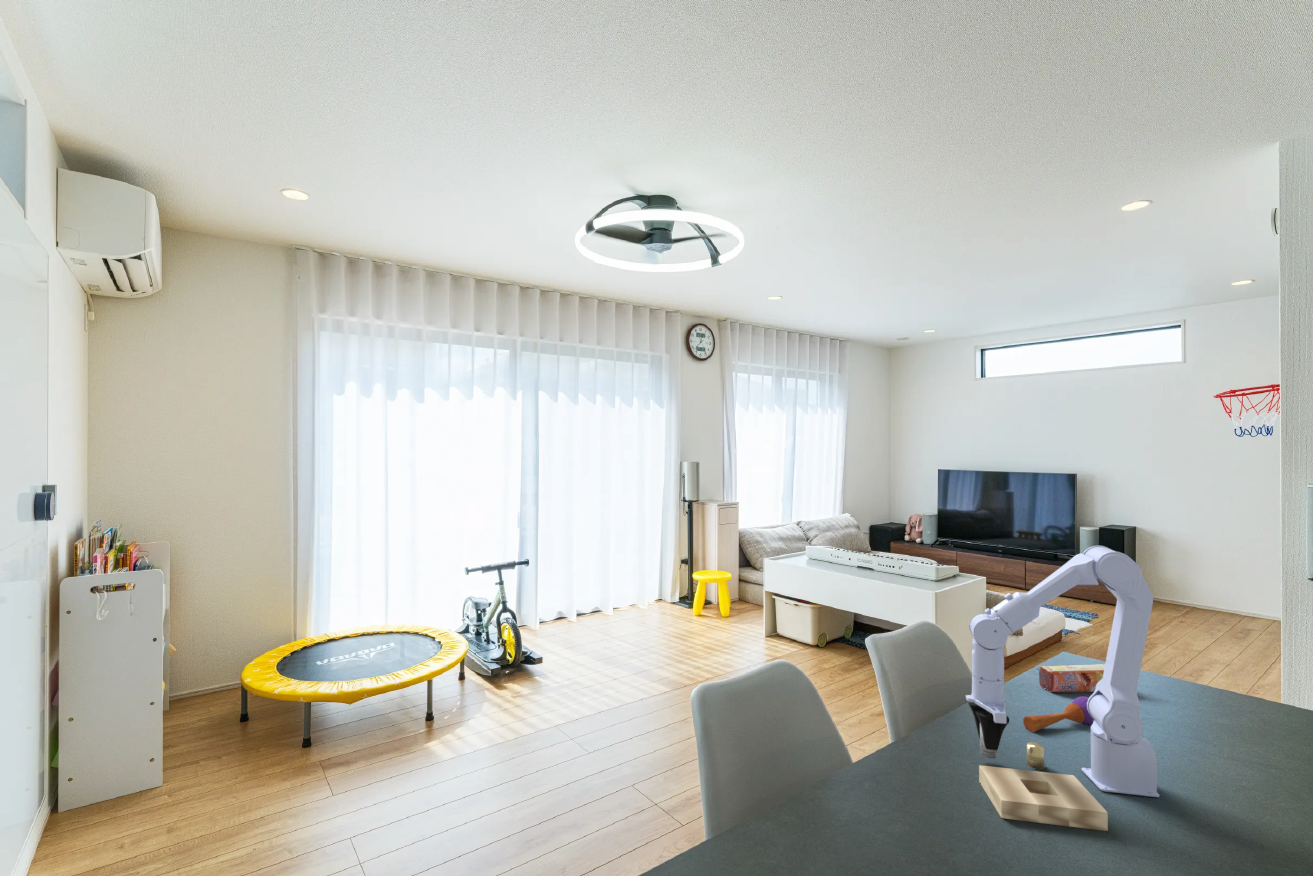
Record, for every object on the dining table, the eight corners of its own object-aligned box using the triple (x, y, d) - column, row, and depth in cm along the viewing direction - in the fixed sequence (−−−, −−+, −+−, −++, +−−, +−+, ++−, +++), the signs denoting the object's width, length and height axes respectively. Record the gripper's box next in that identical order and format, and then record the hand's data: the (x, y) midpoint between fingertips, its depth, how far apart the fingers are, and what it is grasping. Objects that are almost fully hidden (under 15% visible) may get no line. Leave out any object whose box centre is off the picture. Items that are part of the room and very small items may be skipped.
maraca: (1015, 707, 140) (1081, 692, 146) (1021, 735, 139) (1087, 718, 145) (1037, 713, 135) (1105, 697, 140) (1044, 742, 134) (1111, 724, 139)
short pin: (1040, 763, 122) (1040, 742, 123) (1047, 770, 120) (1047, 749, 120) (1024, 761, 123) (1024, 741, 123) (1030, 768, 120) (1030, 748, 120)
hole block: (1073, 791, 112) (1073, 775, 112) (1107, 831, 100) (1107, 812, 100) (979, 781, 115) (979, 765, 115) (1001, 818, 103) (1001, 800, 103)
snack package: (1053, 695, 158) (1052, 669, 158) (1036, 686, 165) (1036, 660, 165) (1132, 695, 159) (1131, 669, 159) (1112, 685, 166) (1112, 660, 166)
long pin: (994, 751, 123) (993, 716, 124) (999, 759, 120) (999, 723, 121) (978, 750, 124) (977, 715, 124) (982, 757, 121) (982, 721, 121)
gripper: (956, 662, 131) (956, 727, 130) (977, 687, 116) (978, 760, 116) (992, 665, 129) (992, 730, 129) (1018, 691, 115) (1018, 764, 114)
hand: (988, 744), depth 122 cm, fingers closed on long pin, 3 cm apart
